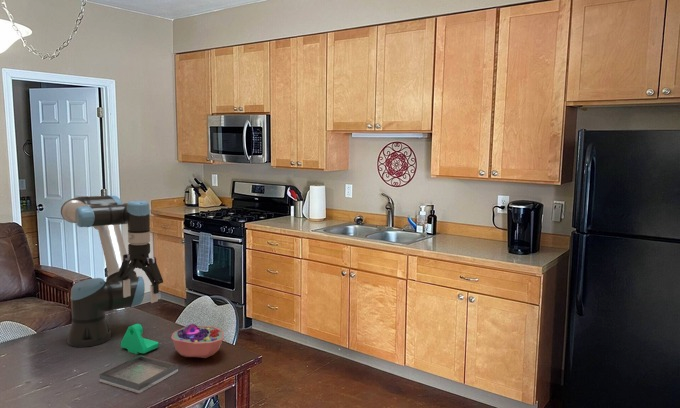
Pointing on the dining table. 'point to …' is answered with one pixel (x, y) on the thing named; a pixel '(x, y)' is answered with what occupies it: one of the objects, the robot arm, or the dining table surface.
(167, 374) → the plate
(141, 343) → the camera mount
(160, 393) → the dining table surface
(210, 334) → the cell model
